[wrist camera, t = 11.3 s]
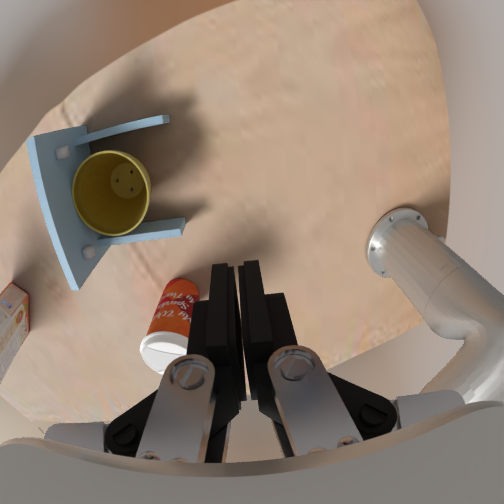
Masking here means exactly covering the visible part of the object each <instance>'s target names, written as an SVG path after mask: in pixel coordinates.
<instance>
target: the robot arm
mask: <svg viewBox="0 0 504 504" xmlns="http://www.w3.org/2000/svg"><path fill="white" fill-rule="evenodd" d="M366 257H367V261H368V263H369V265H370V267H371V268H372V269H373V271H374V272H375V273H376V274H378V275H380V276H382V277H388V278H392V279H393V280H394V282H395V283H396V284H397V285H398V286H399V288H400V289H401V290H402V292H403V293H404V294H405V295H406V297H407V298H408V299H409V300H410V302H411V303H412V304H413V306H414V307H415V308H416V310H417V311H418V312H419V314H420V315H421V316H422V318H423V319H424V320H425V322H426V323H427V324H428V326H429V327H430V328H431V330H432V331H433V332H434V333H436V334H437V335H438V336H440V337H443V338H447V339H456V340H465V341H464V344H463V346H462V347H461V348H460V349H459V351H458V352H457V353H456V355H455V356H454V357H453V358H452V359H451V360H450V362H449V363H448V364H447V365H446V366H445V367H444V368H443V369H442V370H441V371H440V372H439V373H438V374H437V375H436V376H435V377H434V378H433V379H432V380H431V381H430V382H429V383H428V384H427V385H426V386H425V387H424V388H423V389H422V391H421V392H420V393H419V394H415V395H407V396H399V397H396V399H395V400H388V399H386V398H384V397H382V396H380V395H378V394H375V393H373V392H371V391H368V390H366V389H364V388H361V387H359V386H357V385H355V384H352V383H350V382H348V381H345V380H344V379H341V378H339V377H337V376H335V375H333V374H331V373H328V372H327V371H326V369H325V367H324V365H323V363H322V362H321V360H320V358H319V356H318V355H317V354H316V353H315V352H314V351H313V350H311V349H310V348H307V347H304V346H299V345H298V344H297V340H296V336H295V332H294V329H293V325H292V321H291V318H290V314H289V310H288V307H287V303H286V299H285V296H284V293H275V294H266V295H265V294H264V288H263V283H262V277H261V272H260V266H259V261H258V260H253V261H244V265H242V266H238V274H239V292H240V309H241V318H240V311H239V304H238V296H237V289H236V281H235V274H234V267H233V266H232V267H228V264H227V263H223V264H213V265H212V272H211V283H210V293H209V300H203V301H195V302H194V304H193V310H192V317H191V323H190V330H189V337H188V345H187V352H186V355H184V356H180V357H178V358H176V359H175V360H173V361H172V362H171V363H170V364H169V365H168V366H167V368H166V370H165V371H164V374H163V377H162V380H161V383H160V385H159V388H158V389H157V390H156V391H155V392H153V393H152V394H150V395H149V396H148V397H146V398H145V399H143V400H142V401H141V402H139V403H138V404H136V405H135V406H133V407H132V408H130V409H129V410H128V411H126V412H125V413H123V414H122V415H120V416H119V417H117V418H116V419H114V420H113V421H112V422H111V423H110V424H105V423H104V422H92V423H63V424H62V423H59V424H54V425H52V426H51V427H49V429H48V430H47V431H46V433H45V437H44V439H42V438H34V437H26V438H25V437H23V438H15V439H11V440H8V441H5V442H3V443H2V444H0V504H504V295H503V294H502V293H501V292H499V291H498V290H497V289H496V288H495V287H493V286H492V285H491V284H490V283H489V282H488V281H487V280H486V279H484V278H483V277H482V276H481V275H480V274H479V273H478V272H477V271H476V270H474V269H473V268H472V267H471V266H470V265H469V264H467V263H466V262H465V261H464V260H463V259H462V258H460V256H458V255H457V254H456V253H455V252H453V251H452V250H451V249H450V248H449V247H448V246H446V245H445V244H444V236H442V235H440V236H435V235H434V234H432V233H431V232H430V231H429V228H428V224H427V222H426V220H425V218H424V217H423V216H422V215H421V214H420V213H419V212H417V211H416V210H414V209H411V208H398V209H395V210H393V211H391V212H389V213H387V214H386V215H384V216H383V217H382V218H381V219H380V220H379V221H378V222H377V224H376V225H375V226H374V228H373V229H372V231H371V233H370V235H369V238H368V241H367V246H366ZM241 325H242V326H241ZM242 339H243V341H242ZM243 349H244V355H245V362H246V368H247V375H248V381H249V387H250V393H251V399H252V400H258V405H259V411H260V412H261V413H263V414H265V415H266V416H268V417H269V418H271V423H272V426H273V429H274V432H275V435H276V438H277V441H278V444H279V447H280V449H281V453H282V456H283V458H281V459H273V460H264V461H253V462H237V463H226V457H227V449H228V443H229V436H230V428H231V420H232V419H233V418H234V417H235V416H236V415H237V414H238V413H239V410H241V401H246V400H247V398H246V384H245V370H244V356H243Z"/></svg>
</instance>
